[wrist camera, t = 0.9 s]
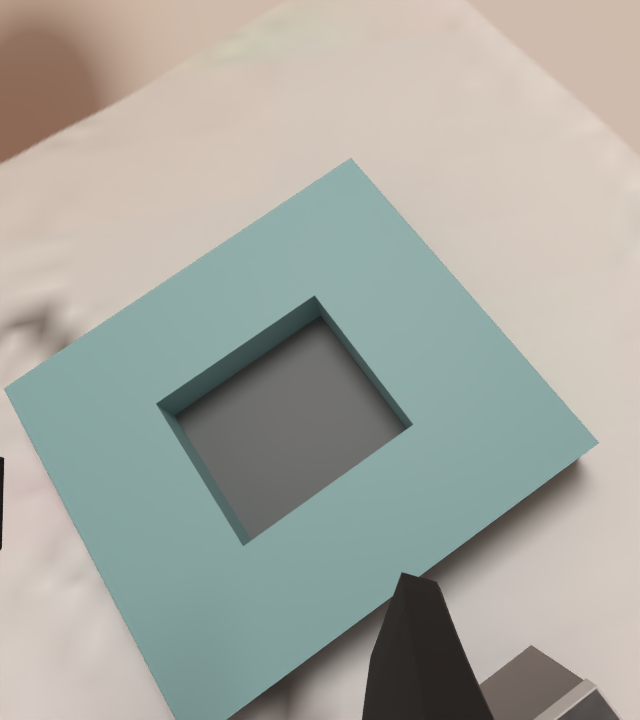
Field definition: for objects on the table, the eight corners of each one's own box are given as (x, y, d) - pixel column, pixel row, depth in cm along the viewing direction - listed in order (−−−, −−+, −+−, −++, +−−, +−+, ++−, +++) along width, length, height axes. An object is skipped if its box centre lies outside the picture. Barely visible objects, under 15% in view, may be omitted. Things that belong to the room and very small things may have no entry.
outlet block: (577, 454, 22) (598, 442, 20) (212, 725, 21) (189, 747, 19) (354, 192, 27) (350, 157, 24) (39, 403, 25) (3, 388, 23)
